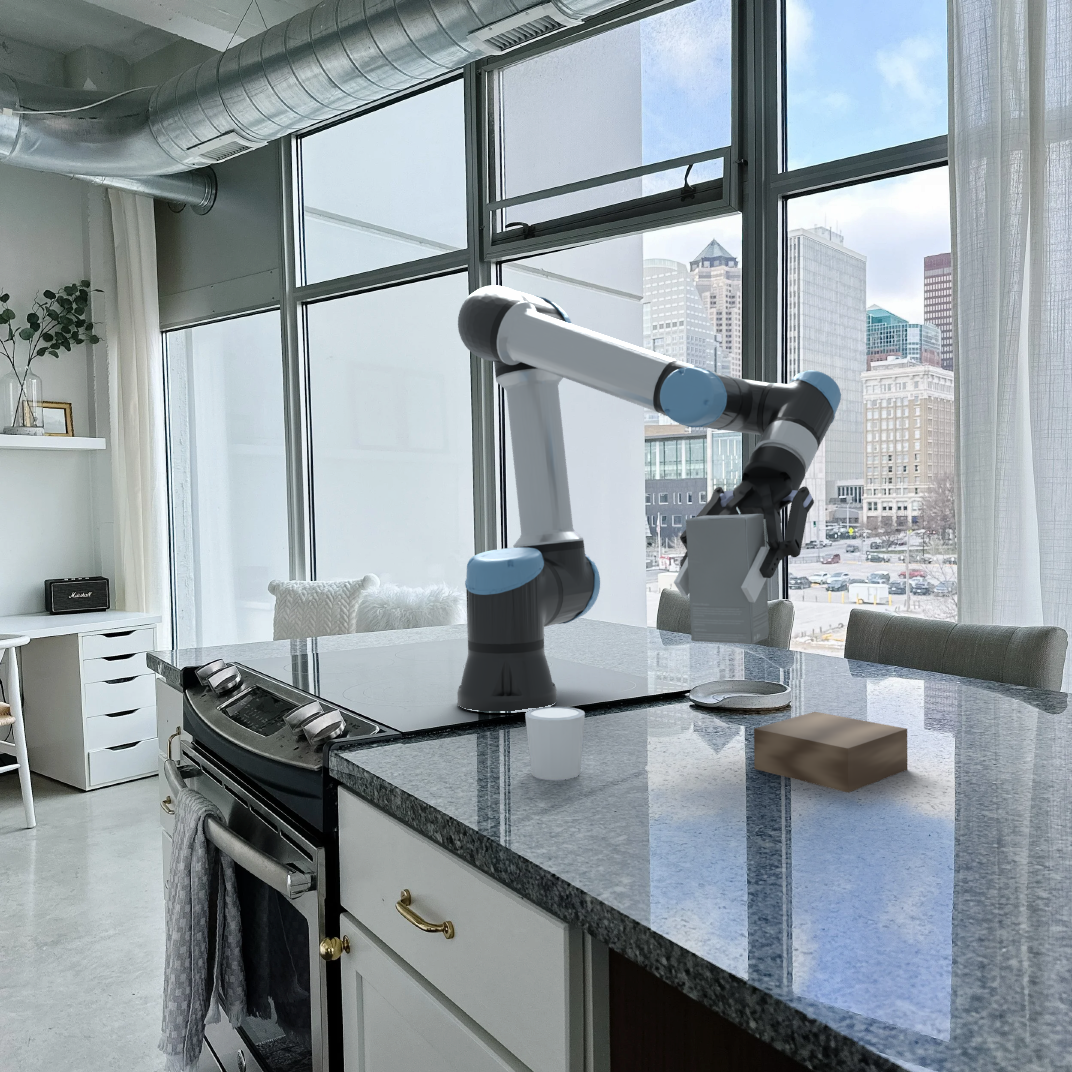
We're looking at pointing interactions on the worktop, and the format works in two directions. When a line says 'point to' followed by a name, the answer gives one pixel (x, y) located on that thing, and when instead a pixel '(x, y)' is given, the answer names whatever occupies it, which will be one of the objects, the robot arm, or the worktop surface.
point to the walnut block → (831, 750)
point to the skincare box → (725, 578)
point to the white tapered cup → (555, 742)
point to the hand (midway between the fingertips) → (713, 592)
